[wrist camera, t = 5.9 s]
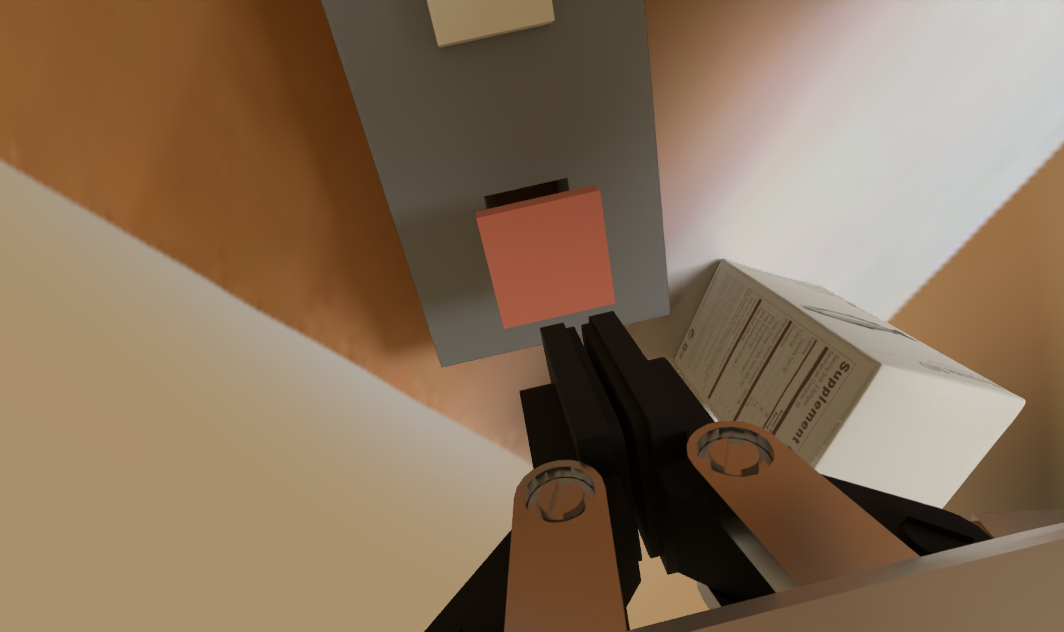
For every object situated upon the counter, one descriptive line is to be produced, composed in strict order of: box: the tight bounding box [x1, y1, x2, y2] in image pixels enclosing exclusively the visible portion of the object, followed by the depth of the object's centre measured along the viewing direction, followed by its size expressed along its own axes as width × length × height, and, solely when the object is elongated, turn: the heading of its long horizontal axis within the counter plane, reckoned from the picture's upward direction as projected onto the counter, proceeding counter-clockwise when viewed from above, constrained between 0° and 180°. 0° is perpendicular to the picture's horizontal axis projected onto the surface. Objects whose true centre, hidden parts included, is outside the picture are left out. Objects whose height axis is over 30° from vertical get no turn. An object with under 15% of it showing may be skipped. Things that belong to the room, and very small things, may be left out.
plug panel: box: [321, 0, 670, 367], centre depth 22 cm, size 12×22×4 cm, turn 11°
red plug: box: [476, 185, 615, 329], centre depth 20 cm, size 4×4×4 cm
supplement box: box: [674, 259, 1025, 509], centre depth 25 cm, size 7×7×13 cm
